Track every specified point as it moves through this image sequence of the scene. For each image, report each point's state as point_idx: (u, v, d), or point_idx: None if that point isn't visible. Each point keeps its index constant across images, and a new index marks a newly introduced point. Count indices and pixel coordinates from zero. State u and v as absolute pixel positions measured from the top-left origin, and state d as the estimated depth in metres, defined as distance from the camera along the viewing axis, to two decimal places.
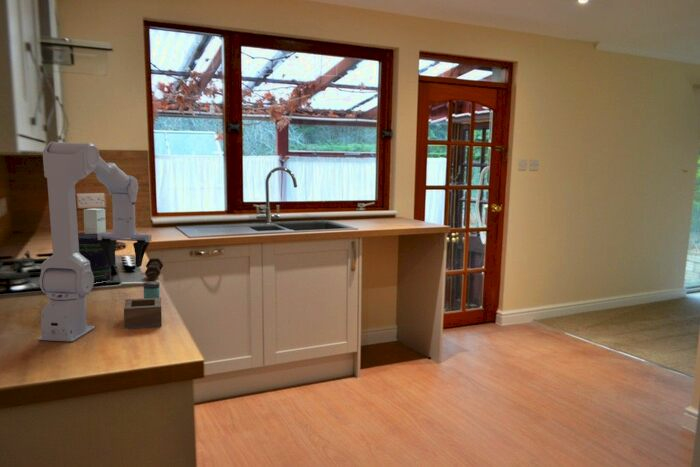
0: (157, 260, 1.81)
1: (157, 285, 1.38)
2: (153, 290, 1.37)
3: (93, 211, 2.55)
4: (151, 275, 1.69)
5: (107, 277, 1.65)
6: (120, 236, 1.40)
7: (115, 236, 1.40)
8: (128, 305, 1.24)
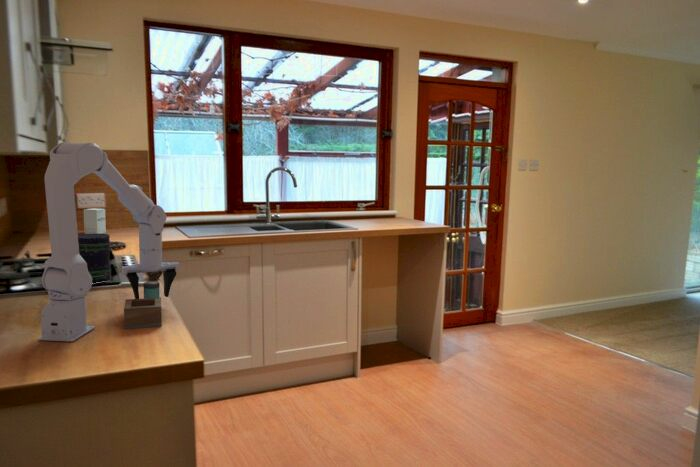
0: None
1: (157, 285, 1.38)
2: (153, 290, 1.37)
3: (93, 211, 2.55)
4: (154, 275, 1.69)
5: (107, 277, 1.65)
6: None
7: None
8: (128, 305, 1.24)
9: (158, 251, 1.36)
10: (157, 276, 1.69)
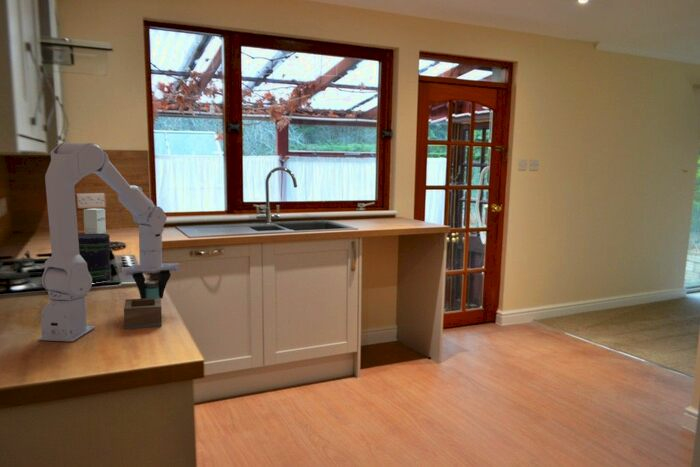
0: None
1: (157, 285, 1.38)
2: (153, 290, 1.37)
3: (93, 211, 2.55)
4: (156, 275, 1.69)
5: (107, 277, 1.65)
6: None
7: None
8: (128, 305, 1.24)
9: (158, 252, 1.36)
10: None
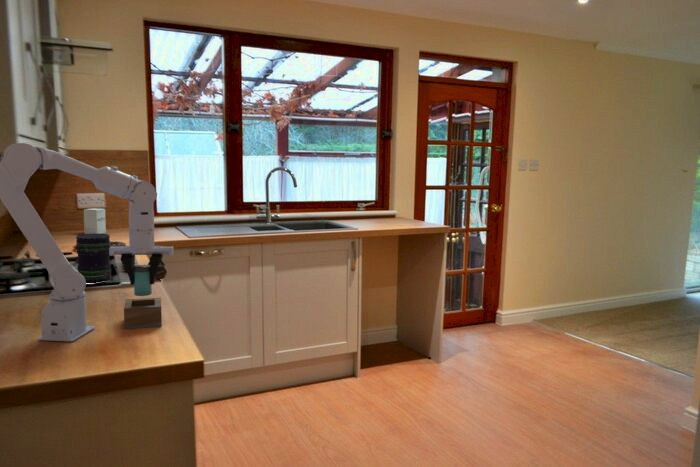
0: None
1: (146, 269, 1.25)
2: (141, 274, 1.24)
3: (93, 211, 2.55)
4: (160, 274, 1.70)
5: (107, 277, 1.65)
6: None
7: None
8: (128, 305, 1.24)
9: (146, 232, 1.23)
10: (163, 275, 1.70)
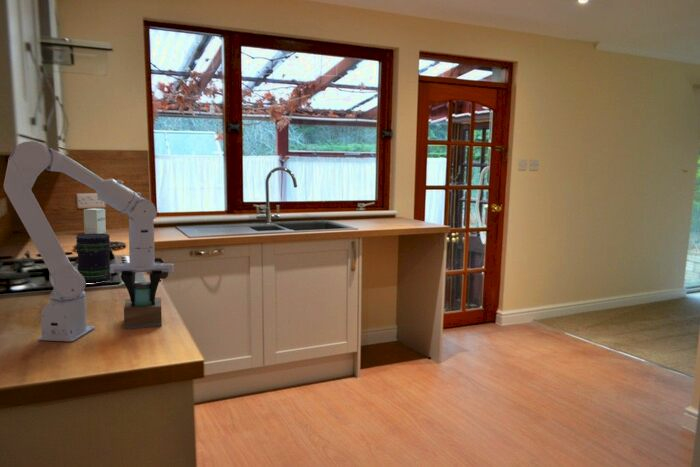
0: (159, 259, 1.82)
1: (146, 286, 1.25)
2: (141, 291, 1.24)
3: (93, 211, 2.55)
4: (162, 274, 1.71)
5: (107, 277, 1.65)
6: None
7: None
8: (128, 305, 1.24)
9: (146, 250, 1.23)
10: (166, 275, 1.71)
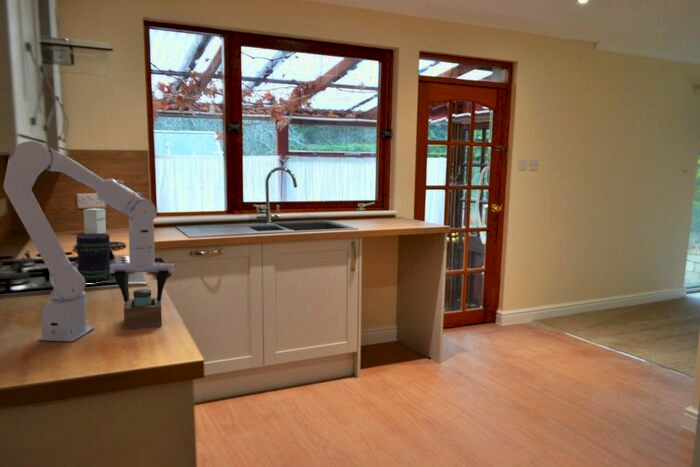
0: (160, 259, 1.82)
1: (146, 294, 1.25)
2: (140, 299, 1.25)
3: (93, 211, 2.55)
4: None
5: (107, 277, 1.65)
6: None
7: None
8: (128, 305, 1.24)
9: (146, 250, 1.23)
10: (169, 275, 1.72)
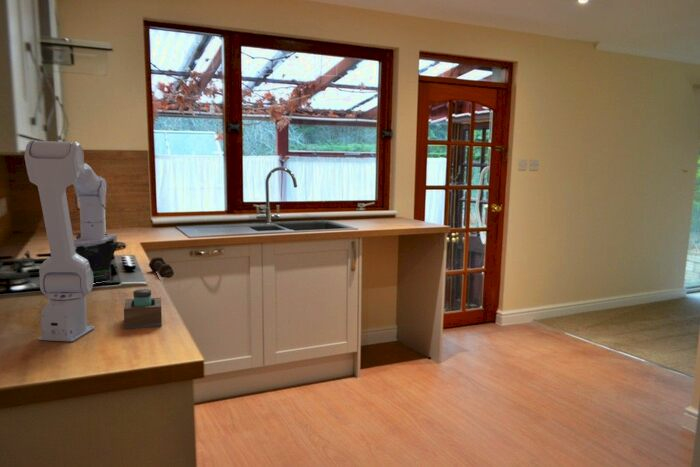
0: (160, 259, 1.83)
1: (146, 294, 1.25)
2: (140, 299, 1.25)
3: None
4: (168, 273, 1.72)
5: (107, 277, 1.65)
6: None
7: None
8: (128, 305, 1.24)
9: None
10: (171, 274, 1.72)
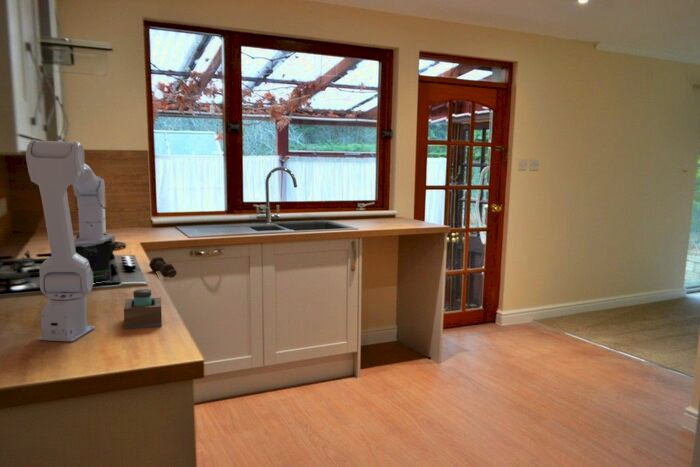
0: (161, 259, 1.83)
1: (146, 294, 1.25)
2: (140, 299, 1.25)
3: None
4: (171, 273, 1.73)
5: (107, 277, 1.65)
6: None
7: None
8: (128, 305, 1.24)
9: (102, 223, 1.35)
10: (174, 274, 1.73)
